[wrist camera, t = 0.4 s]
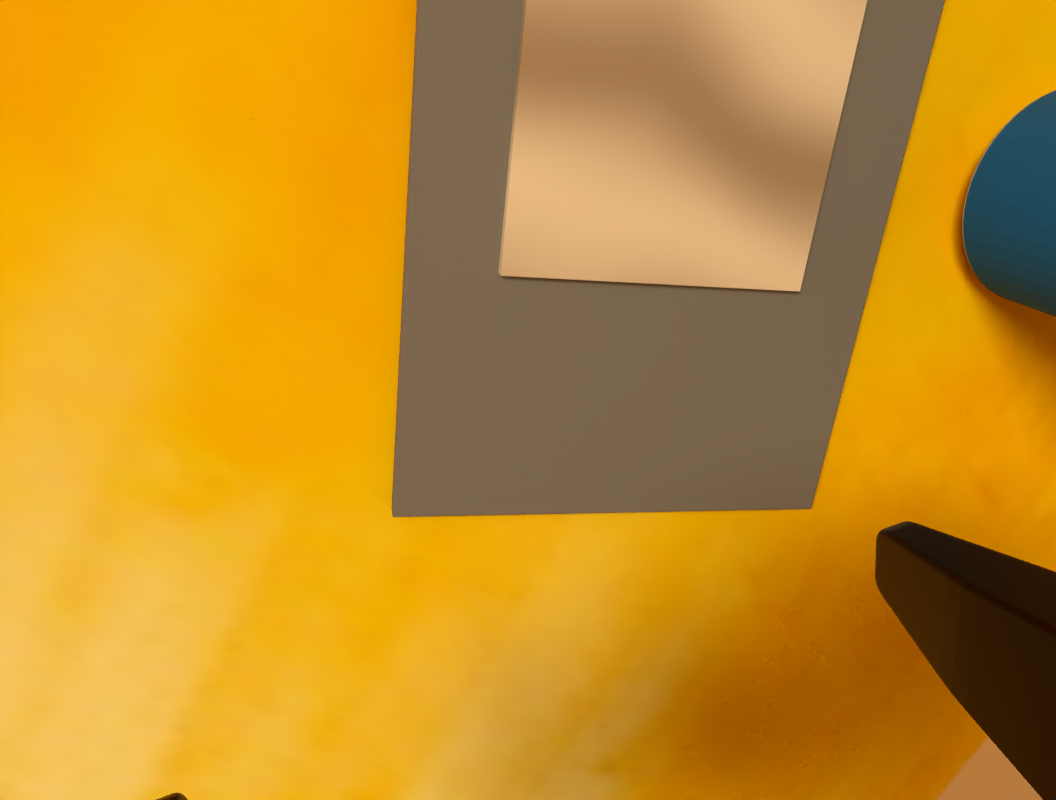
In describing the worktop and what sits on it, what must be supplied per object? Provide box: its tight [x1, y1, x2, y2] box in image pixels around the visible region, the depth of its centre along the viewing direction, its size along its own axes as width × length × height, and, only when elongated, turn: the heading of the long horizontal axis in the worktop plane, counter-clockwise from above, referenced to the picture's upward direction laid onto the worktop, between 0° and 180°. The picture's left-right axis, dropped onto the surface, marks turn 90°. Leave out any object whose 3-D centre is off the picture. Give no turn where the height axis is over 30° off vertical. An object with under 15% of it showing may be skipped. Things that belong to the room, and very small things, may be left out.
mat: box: [392, 0, 945, 517], centre depth 22 cm, size 24×14×1 cm, turn 174°
